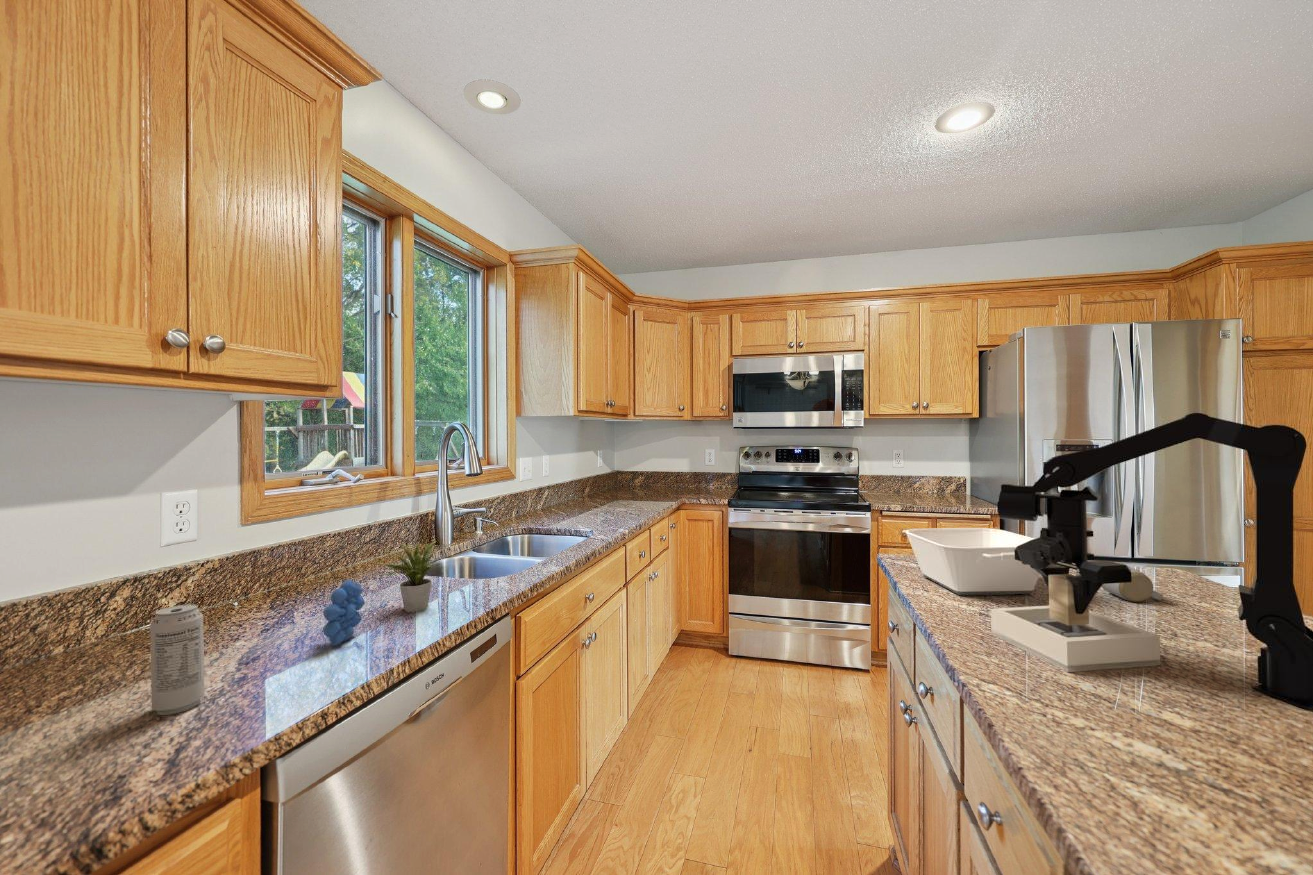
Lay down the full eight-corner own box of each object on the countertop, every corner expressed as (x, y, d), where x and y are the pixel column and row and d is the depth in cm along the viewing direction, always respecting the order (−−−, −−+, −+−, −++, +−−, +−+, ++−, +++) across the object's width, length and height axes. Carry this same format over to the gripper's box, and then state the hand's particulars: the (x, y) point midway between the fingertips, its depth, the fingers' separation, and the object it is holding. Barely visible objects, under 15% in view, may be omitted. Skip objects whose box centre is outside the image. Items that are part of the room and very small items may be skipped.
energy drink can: (207, 693, 86) (205, 600, 86) (201, 708, 81) (199, 610, 81) (156, 704, 82) (155, 607, 82) (147, 721, 77) (145, 618, 77)
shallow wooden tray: (1160, 665, 89) (1159, 635, 89) (1067, 672, 87) (1066, 641, 87) (1070, 629, 106) (1070, 604, 106) (991, 634, 104) (990, 608, 104)
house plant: (408, 597, 137) (407, 534, 137) (458, 598, 135) (457, 534, 136) (371, 615, 123) (370, 545, 123) (427, 617, 121) (425, 545, 121)
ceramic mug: (1119, 602, 121) (1119, 569, 121) (1097, 592, 129) (1097, 561, 129) (1173, 605, 119) (1173, 571, 119) (1147, 594, 128) (1147, 562, 128)
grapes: (341, 630, 113) (340, 574, 114) (372, 630, 113) (371, 574, 113) (304, 652, 102) (303, 590, 102) (339, 652, 102) (338, 589, 102)
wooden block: (1089, 624, 94) (1087, 579, 94) (1068, 625, 94) (1067, 580, 94) (1069, 616, 98) (1068, 573, 98) (1049, 618, 98) (1048, 574, 98)
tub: (1077, 606, 120) (1076, 549, 120) (958, 607, 120) (956, 551, 121) (986, 569, 154) (985, 525, 154) (893, 570, 154) (892, 526, 154)
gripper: (988, 518, 105) (990, 597, 105) (1071, 534, 86) (1074, 630, 86) (1039, 516, 106) (1042, 594, 106) (1133, 531, 87) (1135, 626, 87)
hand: (1069, 609), depth 96 cm, fingers closed on wooden block, 4 cm apart
